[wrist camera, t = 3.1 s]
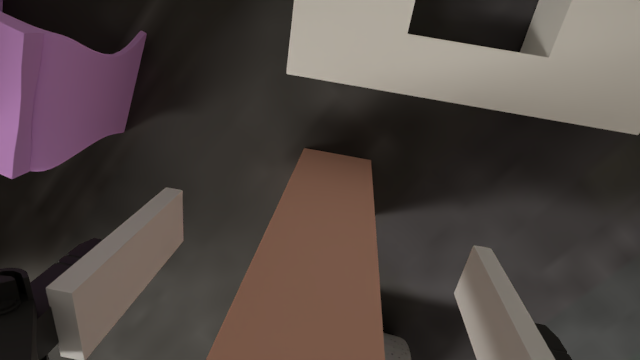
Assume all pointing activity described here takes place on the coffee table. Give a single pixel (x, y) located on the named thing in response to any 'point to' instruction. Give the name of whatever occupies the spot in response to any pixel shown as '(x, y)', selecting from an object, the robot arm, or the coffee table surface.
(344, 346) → the peg
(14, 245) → the coffee table surface
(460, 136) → the coffee table surface
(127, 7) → the coffee table surface
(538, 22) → the socket block
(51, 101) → the toy chair
